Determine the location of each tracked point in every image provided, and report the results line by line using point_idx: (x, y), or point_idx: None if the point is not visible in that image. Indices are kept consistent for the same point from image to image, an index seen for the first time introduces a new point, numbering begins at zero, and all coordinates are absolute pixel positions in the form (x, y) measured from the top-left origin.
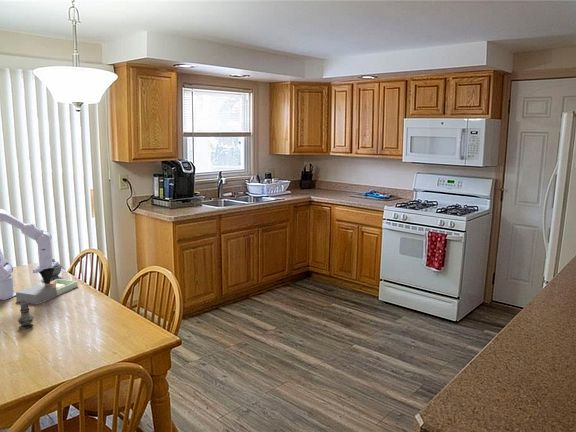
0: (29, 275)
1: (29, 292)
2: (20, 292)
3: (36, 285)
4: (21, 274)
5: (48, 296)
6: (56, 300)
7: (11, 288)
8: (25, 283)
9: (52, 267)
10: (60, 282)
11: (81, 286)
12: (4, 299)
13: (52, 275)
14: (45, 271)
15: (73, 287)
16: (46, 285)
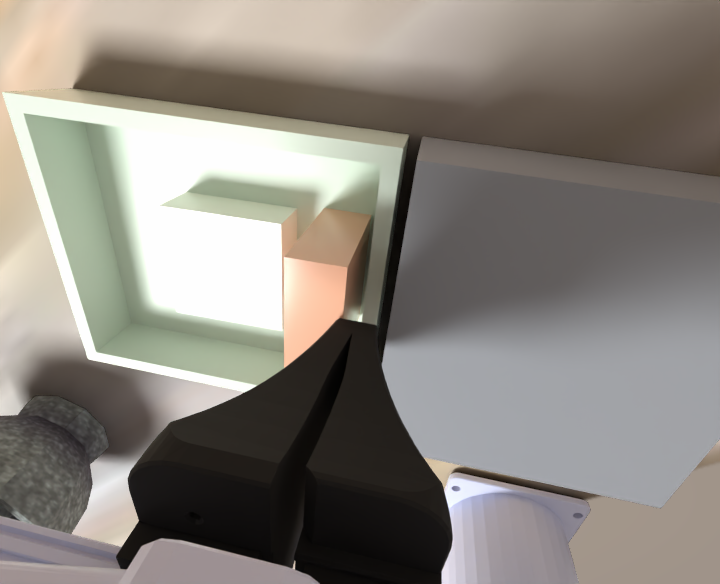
0: (119, 540)
1: (690, 388)
2: (678, 470)
3: None
4: None
5: (571, 163)
6: (601, 8)
7: (521, 564)
8: None
9: (243, 556)
10: (114, 313)
11: (34, 44)
12: (589, 507)
13: (60, 438)
14: (420, 552)
15: (126, 98)
16: None
